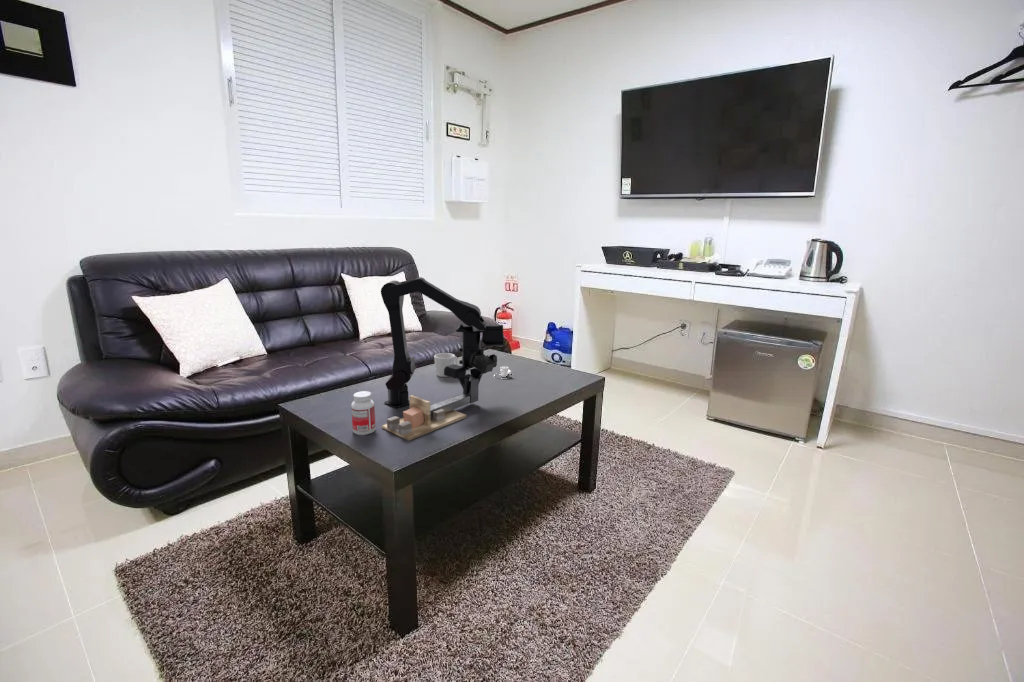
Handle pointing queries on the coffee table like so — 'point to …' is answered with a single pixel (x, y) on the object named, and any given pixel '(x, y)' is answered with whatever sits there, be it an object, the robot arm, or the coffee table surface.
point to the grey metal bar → (458, 399)
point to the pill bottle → (363, 413)
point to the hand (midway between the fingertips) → (470, 391)
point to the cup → (444, 362)
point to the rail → (429, 424)
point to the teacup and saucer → (504, 371)
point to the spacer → (414, 416)
